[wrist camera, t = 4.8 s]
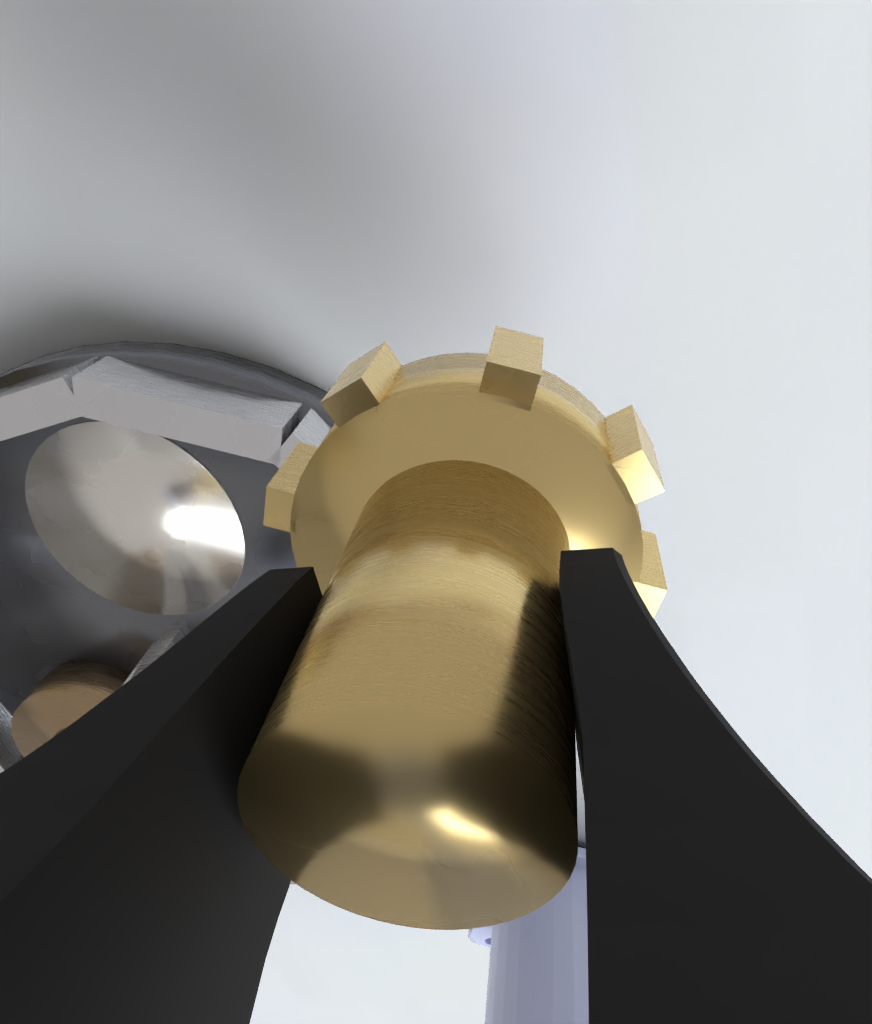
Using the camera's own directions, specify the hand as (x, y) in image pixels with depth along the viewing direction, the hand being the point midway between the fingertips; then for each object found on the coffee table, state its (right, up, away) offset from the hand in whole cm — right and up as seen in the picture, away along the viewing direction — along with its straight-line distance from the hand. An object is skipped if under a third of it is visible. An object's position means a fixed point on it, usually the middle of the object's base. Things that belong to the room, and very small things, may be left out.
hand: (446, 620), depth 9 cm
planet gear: (0, +2, +2) cm, 3 cm away
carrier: (-8, -3, +15) cm, 17 cm away
